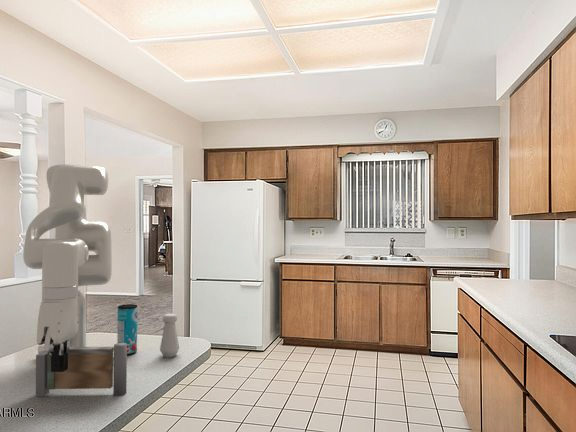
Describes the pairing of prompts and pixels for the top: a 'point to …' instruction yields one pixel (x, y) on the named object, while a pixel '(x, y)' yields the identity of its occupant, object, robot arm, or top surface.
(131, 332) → the beverage can
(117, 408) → the top surface
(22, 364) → the top surface
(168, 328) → the salt shaker
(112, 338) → the top surface
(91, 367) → the gate
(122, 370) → the hinge post
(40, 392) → the post
